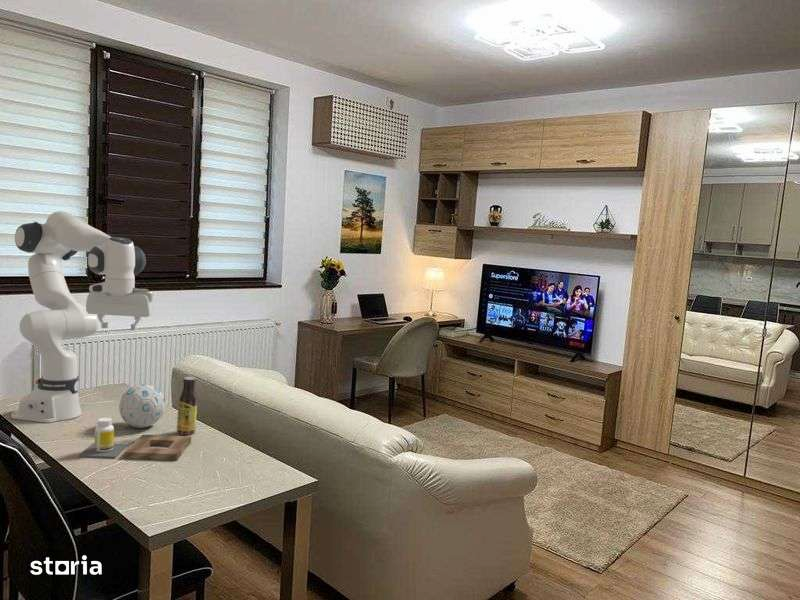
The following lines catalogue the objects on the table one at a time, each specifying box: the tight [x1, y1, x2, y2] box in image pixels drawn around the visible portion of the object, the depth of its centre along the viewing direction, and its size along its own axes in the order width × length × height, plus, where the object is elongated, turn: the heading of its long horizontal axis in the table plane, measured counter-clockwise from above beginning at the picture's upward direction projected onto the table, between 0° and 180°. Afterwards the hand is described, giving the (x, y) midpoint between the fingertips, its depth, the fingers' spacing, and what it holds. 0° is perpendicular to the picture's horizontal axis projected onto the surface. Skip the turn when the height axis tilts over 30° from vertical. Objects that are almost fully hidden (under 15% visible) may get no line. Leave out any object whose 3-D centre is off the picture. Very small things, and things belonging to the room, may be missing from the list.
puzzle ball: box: [118, 384, 166, 429], centre depth 217 cm, size 15×15×15 cm
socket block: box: [123, 434, 192, 461], centre depth 197 cm, size 16×16×2 cm
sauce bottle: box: [176, 376, 198, 436], centre depth 213 cm, size 7×6×20 cm
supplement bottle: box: [94, 417, 115, 452], centre depth 192 cm, size 5×5×10 cm
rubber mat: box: [78, 442, 130, 459], centre depth 193 cm, size 11×11×1 cm
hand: (119, 328), depth 202 cm, fingers open, 8 cm apart
